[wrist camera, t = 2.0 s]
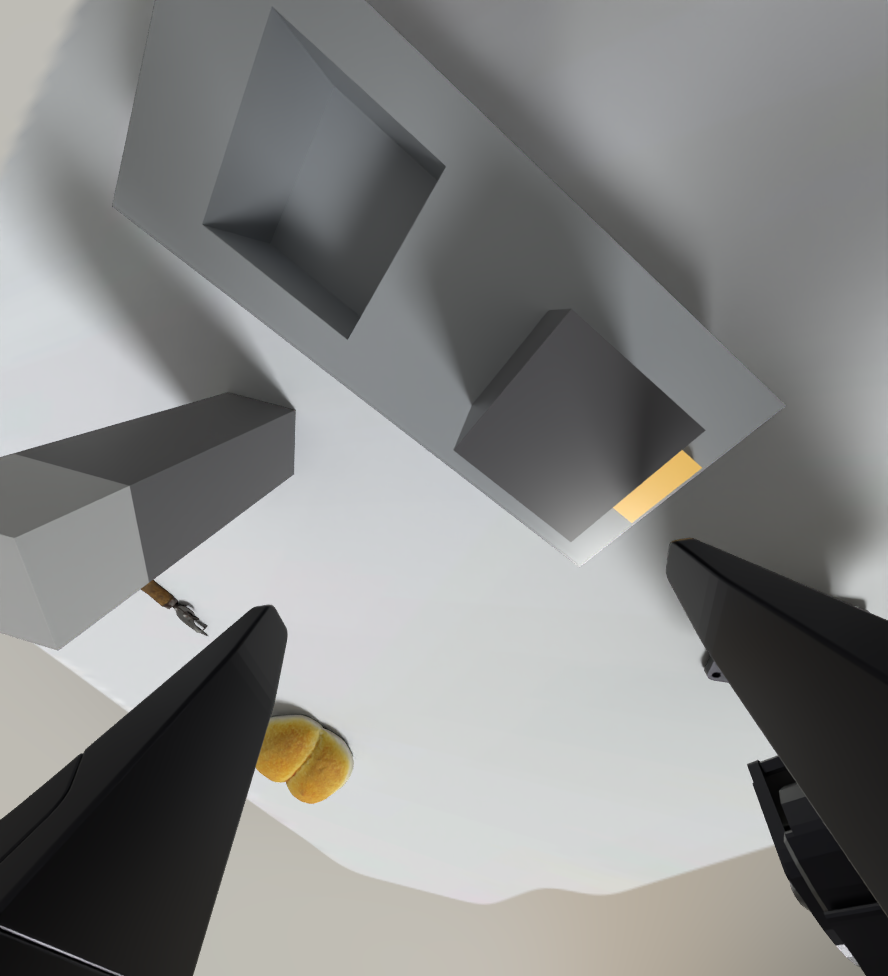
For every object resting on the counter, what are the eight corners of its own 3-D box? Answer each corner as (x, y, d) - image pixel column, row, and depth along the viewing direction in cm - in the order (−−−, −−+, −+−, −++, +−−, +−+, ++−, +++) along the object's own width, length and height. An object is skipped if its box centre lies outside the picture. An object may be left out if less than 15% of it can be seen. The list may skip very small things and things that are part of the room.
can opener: (117, 556, 28) (103, 565, 27) (133, 544, 27) (118, 553, 26) (205, 635, 31) (194, 646, 30) (221, 626, 30) (211, 637, 29)
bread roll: (286, 696, 32) (259, 743, 29) (369, 748, 34) (352, 799, 30) (250, 733, 36) (221, 779, 32) (326, 778, 37) (306, 827, 34)
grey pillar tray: (712, 380, 17) (947, 460, 8) (564, 511, 20) (606, 666, 12) (296, -9, 13) (-128, -646, 4) (214, 233, 17) (-100, 150, 8)
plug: (295, 410, 20) (14, 538, 9) (293, 474, 22) (58, 650, 11) (227, 392, 21) (-134, 495, 9) (231, 457, 22) (-66, 612, 11)
